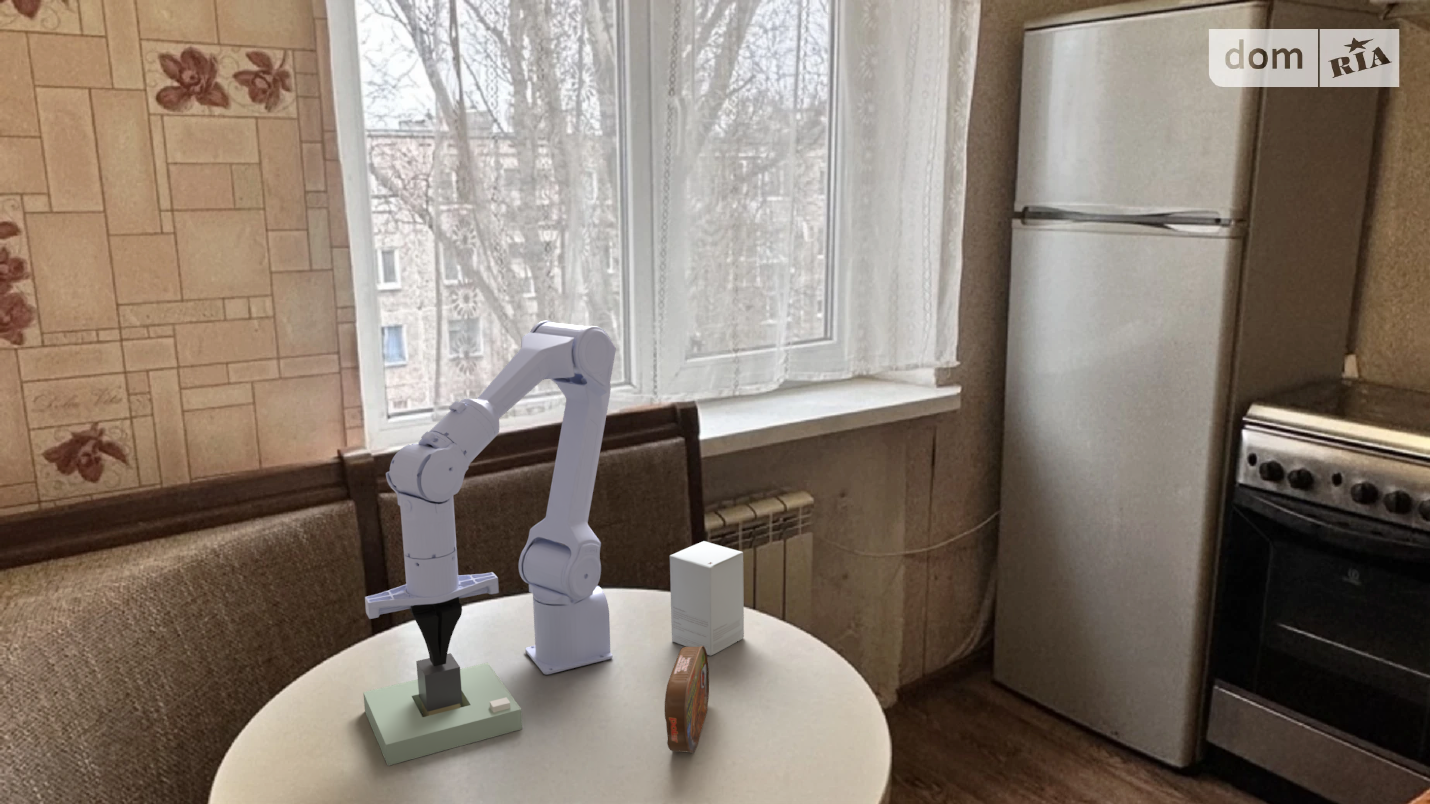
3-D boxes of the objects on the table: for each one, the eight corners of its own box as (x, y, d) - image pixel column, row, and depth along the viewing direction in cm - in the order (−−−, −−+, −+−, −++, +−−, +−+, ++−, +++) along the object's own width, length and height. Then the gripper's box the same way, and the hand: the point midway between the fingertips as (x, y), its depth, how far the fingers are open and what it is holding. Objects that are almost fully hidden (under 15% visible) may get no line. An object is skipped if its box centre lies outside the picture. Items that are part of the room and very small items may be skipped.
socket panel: (488, 680, 126) (487, 657, 125) (522, 728, 115) (520, 703, 114) (364, 711, 119) (362, 686, 118) (387, 765, 108) (385, 738, 107)
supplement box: (745, 638, 137) (745, 551, 134) (710, 657, 132) (709, 567, 129) (705, 623, 142) (704, 539, 139) (669, 641, 136) (668, 554, 134)
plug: (454, 707, 120) (450, 653, 118) (463, 722, 116) (459, 667, 115) (420, 715, 118) (416, 661, 116) (428, 731, 114) (424, 675, 113)
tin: (690, 768, 107) (689, 696, 105) (661, 766, 107) (660, 694, 106) (711, 698, 121) (711, 634, 120) (685, 696, 122) (685, 632, 120)
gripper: (483, 528, 119) (489, 634, 122) (356, 550, 112) (365, 662, 115) (501, 547, 113) (507, 657, 116) (368, 571, 106) (378, 688, 109)
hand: (438, 661), depth 115 cm, fingers closed
